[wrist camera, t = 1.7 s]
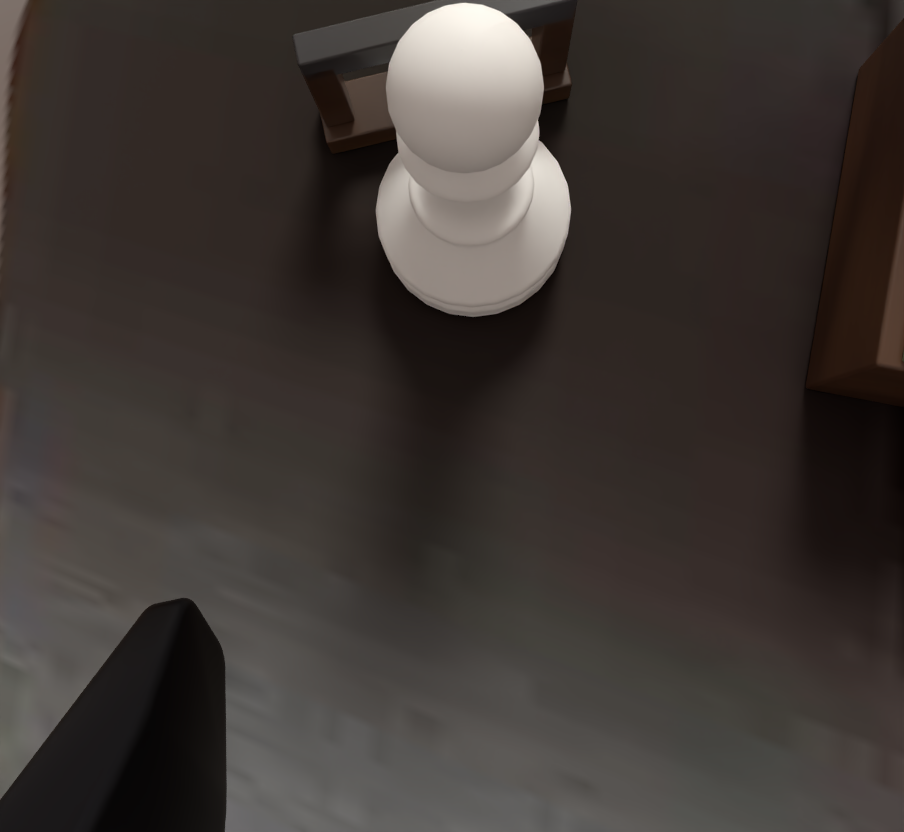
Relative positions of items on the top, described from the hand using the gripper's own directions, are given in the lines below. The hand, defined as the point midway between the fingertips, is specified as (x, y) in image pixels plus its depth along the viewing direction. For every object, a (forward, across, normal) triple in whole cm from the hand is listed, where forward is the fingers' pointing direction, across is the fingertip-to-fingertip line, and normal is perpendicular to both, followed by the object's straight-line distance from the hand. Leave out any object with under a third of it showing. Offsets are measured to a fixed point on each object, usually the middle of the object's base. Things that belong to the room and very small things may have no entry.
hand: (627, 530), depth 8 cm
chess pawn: (+15, 0, +4) cm, 15 cm away
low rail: (+17, 0, +1) cm, 17 cm away
